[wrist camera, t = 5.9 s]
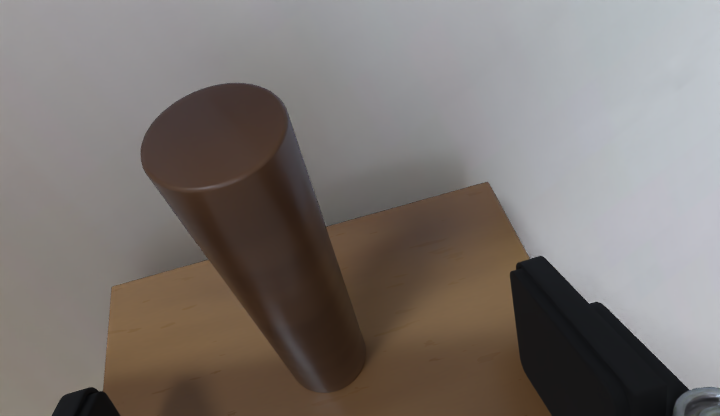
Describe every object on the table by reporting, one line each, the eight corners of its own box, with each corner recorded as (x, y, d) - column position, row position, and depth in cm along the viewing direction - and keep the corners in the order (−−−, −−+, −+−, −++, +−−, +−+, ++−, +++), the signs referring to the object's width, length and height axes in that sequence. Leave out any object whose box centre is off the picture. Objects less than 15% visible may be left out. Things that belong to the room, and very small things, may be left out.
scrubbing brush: (481, 248, 19) (592, 481, 14) (168, 337, 18) (168, 610, 13) (517, -98, 9) (914, 254, 4) (-131, 70, 9) (-512, 674, 4)
